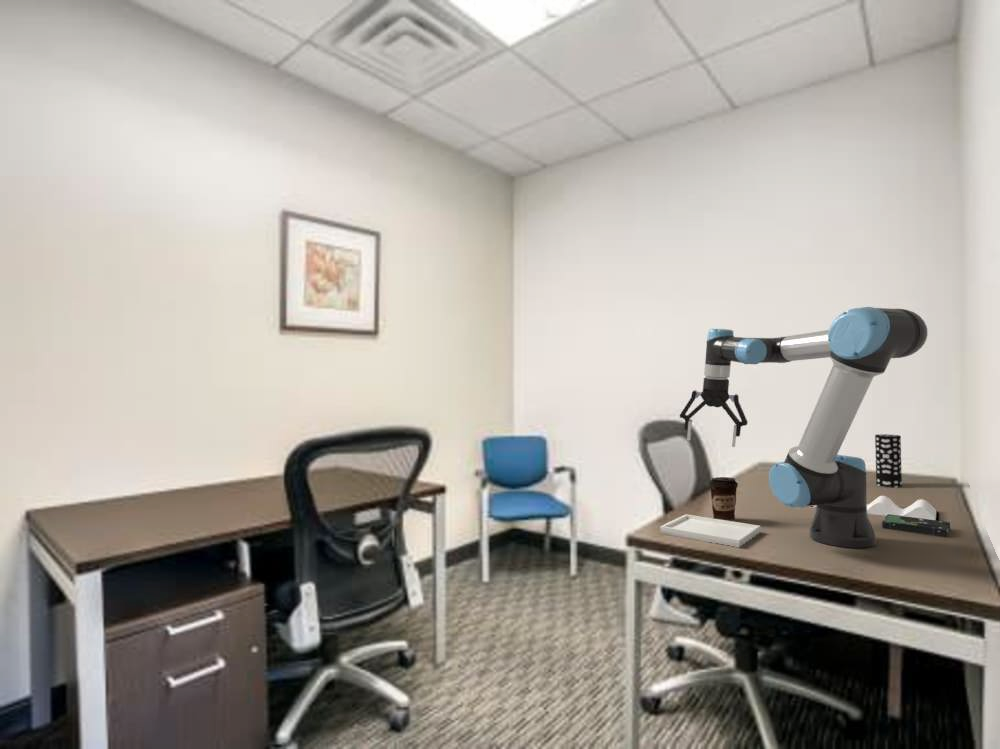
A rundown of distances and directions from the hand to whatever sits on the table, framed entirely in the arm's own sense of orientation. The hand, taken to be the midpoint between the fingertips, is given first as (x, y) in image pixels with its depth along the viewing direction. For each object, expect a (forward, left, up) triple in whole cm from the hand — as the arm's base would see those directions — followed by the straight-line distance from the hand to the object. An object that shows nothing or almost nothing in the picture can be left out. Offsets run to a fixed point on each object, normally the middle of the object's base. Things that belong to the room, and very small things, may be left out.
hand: (710, 443), depth 177 cm
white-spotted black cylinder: (-37, -89, -24) cm, 99 cm away
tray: (-7, +20, -23) cm, 31 cm away
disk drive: (-51, -20, -24) cm, 60 cm away
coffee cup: (-5, +3, -24) cm, 24 cm away
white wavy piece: (-38, -39, -24) cm, 60 cm away
